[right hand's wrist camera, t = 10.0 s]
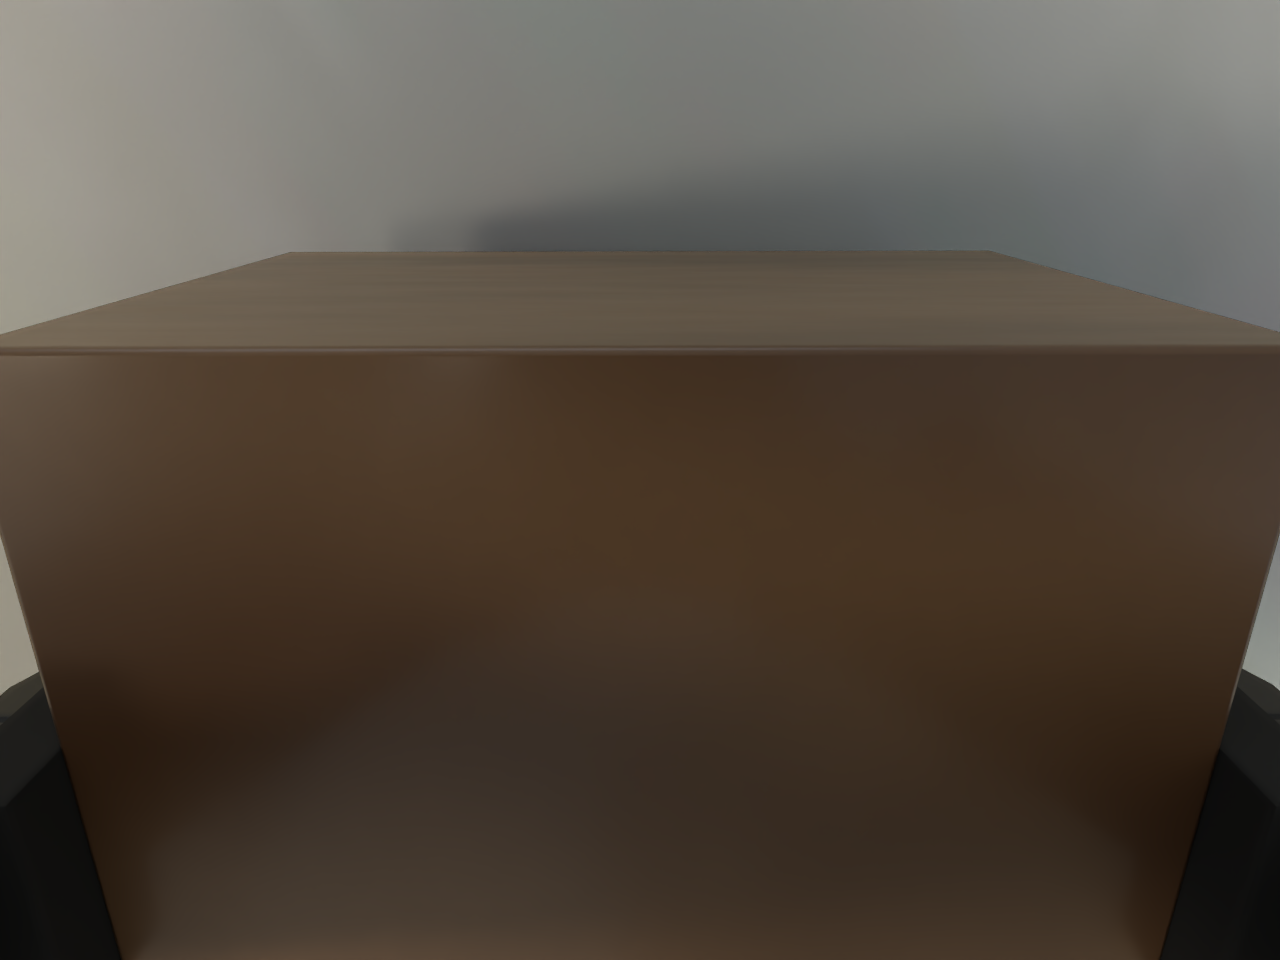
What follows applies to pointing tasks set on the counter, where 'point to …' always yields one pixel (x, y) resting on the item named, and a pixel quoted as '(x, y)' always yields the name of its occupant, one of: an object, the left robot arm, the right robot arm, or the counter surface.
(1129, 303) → the wide beam
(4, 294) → the counter surface
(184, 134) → the counter surface
